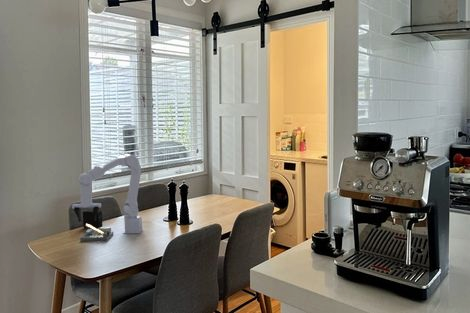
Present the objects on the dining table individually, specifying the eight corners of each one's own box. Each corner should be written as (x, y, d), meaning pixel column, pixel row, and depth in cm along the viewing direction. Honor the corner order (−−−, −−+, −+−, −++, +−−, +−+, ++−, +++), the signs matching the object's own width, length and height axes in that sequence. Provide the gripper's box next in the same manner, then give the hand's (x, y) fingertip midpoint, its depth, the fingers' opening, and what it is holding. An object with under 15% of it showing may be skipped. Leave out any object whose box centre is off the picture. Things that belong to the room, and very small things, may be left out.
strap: (107, 235, 216) (108, 234, 216) (105, 237, 214) (106, 235, 214) (86, 224, 216) (87, 223, 216) (84, 225, 213) (85, 224, 213)
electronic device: (98, 228, 236) (98, 212, 235) (83, 228, 238) (82, 211, 237) (102, 226, 240) (101, 210, 239) (87, 226, 242) (86, 209, 241)
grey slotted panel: (113, 235, 224) (112, 227, 224) (107, 241, 213) (106, 233, 213) (88, 235, 224) (87, 227, 224) (80, 241, 213) (80, 233, 213)
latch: (92, 232, 221) (92, 229, 221) (90, 235, 217) (89, 231, 217) (88, 233, 221) (88, 229, 221) (85, 235, 217) (85, 231, 217)
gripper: (101, 194, 219) (103, 218, 221) (74, 194, 218) (75, 219, 219) (99, 196, 212) (100, 222, 214) (70, 197, 211) (71, 223, 212)
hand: (87, 221), depth 216 cm, fingers open, 7 cm apart
